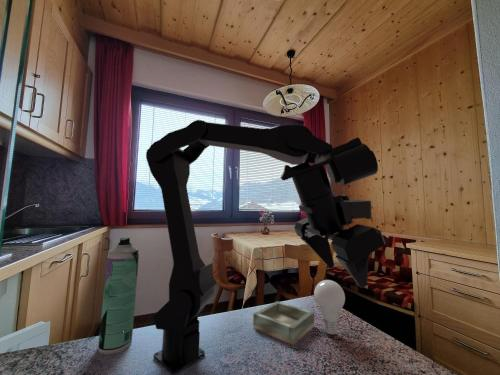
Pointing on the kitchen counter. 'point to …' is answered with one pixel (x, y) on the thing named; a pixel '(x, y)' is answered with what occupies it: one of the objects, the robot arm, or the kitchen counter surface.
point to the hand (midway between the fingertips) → (345, 275)
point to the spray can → (119, 298)
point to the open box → (284, 321)
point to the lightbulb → (329, 303)
